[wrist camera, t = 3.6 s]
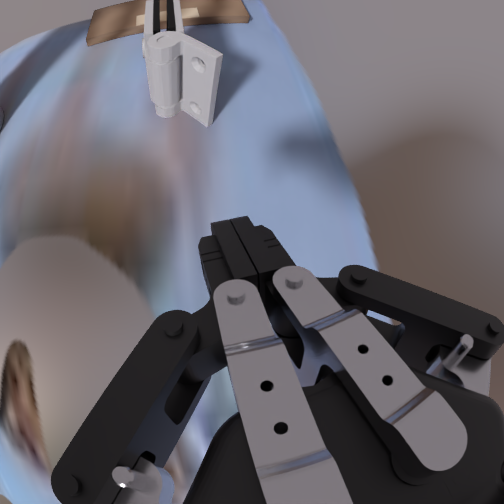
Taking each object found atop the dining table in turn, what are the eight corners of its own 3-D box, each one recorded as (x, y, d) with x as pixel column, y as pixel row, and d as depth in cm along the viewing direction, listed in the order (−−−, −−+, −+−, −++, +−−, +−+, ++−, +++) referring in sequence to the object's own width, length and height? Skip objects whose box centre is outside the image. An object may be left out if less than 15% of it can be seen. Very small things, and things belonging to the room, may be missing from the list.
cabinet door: (87, 46, 26) (83, 31, 23) (95, 16, 27) (93, 3, 24) (247, 23, 31) (251, 8, 28) (234, -3, 32) (237, -16, 29)
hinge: (214, 125, 27) (225, 56, 17) (165, 142, 26) (156, 73, 16) (175, 52, 28) (176, -9, 18) (135, 64, 27) (126, 3, 17)
